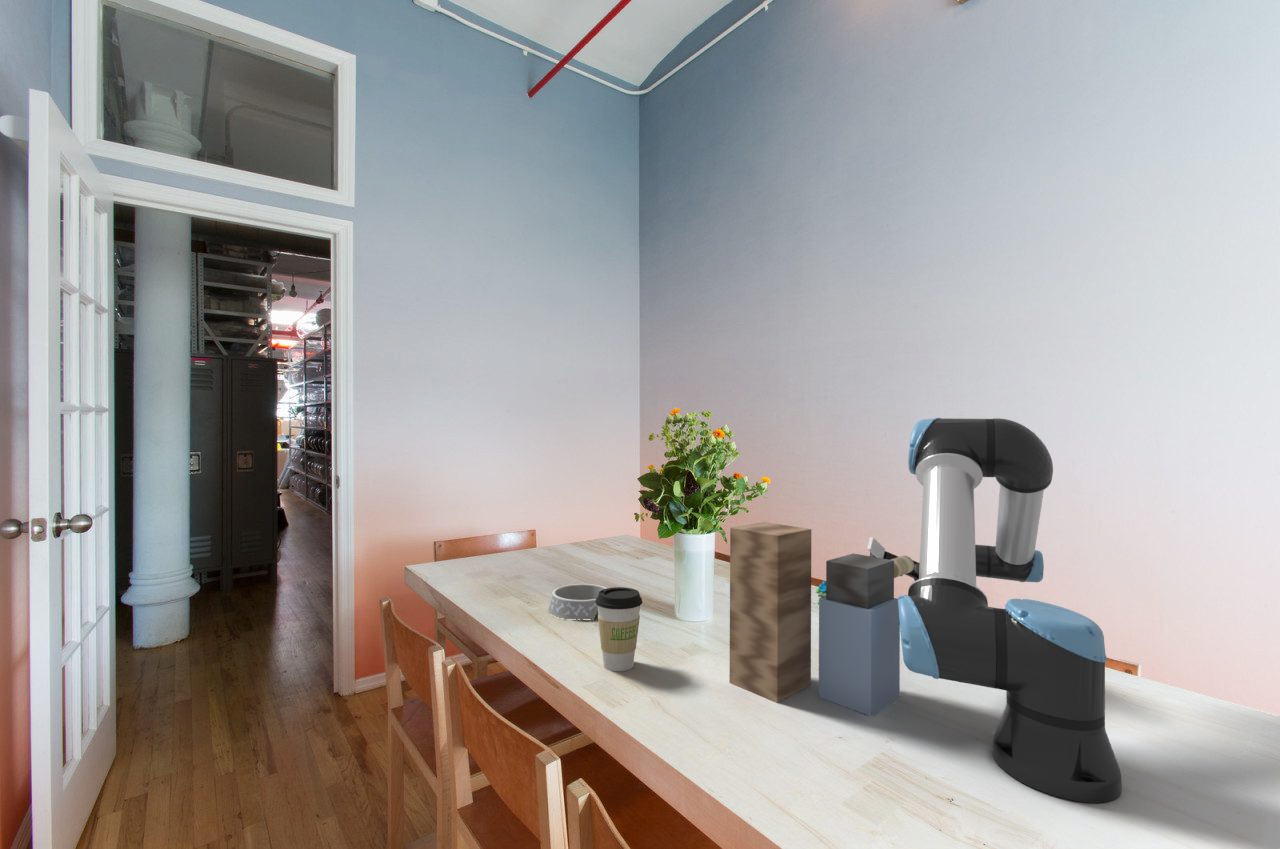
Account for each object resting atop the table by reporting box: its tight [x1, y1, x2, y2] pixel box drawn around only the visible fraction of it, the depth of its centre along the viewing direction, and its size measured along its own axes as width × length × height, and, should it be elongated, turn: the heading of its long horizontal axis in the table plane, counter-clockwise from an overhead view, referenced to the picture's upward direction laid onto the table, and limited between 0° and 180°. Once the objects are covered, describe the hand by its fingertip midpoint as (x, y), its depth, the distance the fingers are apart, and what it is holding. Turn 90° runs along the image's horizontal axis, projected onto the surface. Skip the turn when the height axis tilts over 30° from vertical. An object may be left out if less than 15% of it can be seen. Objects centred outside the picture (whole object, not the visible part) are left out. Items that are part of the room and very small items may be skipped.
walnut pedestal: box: [728, 521, 812, 704], centre depth 112 cm, size 11×11×30 cm
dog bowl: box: [547, 583, 608, 620], centre depth 156 cm, size 17×18×5 cm
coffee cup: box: [595, 586, 643, 672], centre depth 120 cm, size 10×10×15 cm
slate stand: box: [818, 596, 901, 717], centre depth 106 cm, size 10×11×18 cm
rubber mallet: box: [825, 553, 914, 609], centre depth 111 cm, size 8×24×7 cm, turn 132°
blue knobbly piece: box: [815, 580, 826, 605], centre depth 161 cm, size 11×6×10 cm
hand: (901, 547), depth 119 cm, fingers open, 13 cm apart
